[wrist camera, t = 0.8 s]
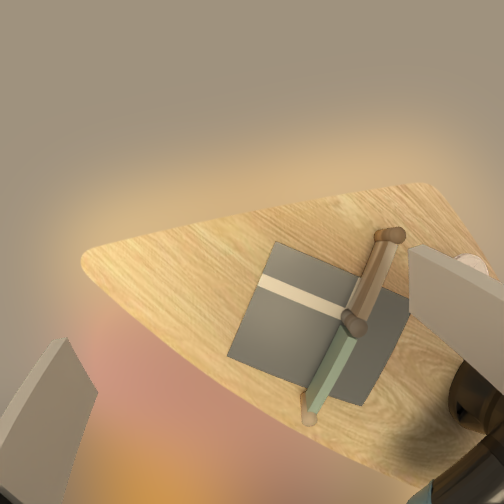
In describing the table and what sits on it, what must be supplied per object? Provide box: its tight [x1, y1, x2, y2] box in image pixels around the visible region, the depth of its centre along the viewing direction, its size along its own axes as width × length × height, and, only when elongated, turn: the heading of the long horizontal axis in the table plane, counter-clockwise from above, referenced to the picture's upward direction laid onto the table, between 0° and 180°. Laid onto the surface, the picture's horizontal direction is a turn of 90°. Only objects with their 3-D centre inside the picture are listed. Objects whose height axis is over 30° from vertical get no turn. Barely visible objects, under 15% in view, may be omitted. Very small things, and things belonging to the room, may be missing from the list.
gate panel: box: [300, 325, 357, 427], centre depth 34 cm, size 12×2×6 cm, turn 158°
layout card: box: [227, 242, 411, 406], centre depth 37 cm, size 20×16×1 cm
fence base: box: [340, 227, 406, 338], centre depth 34 cm, size 2×13×7 cm, turn 158°
